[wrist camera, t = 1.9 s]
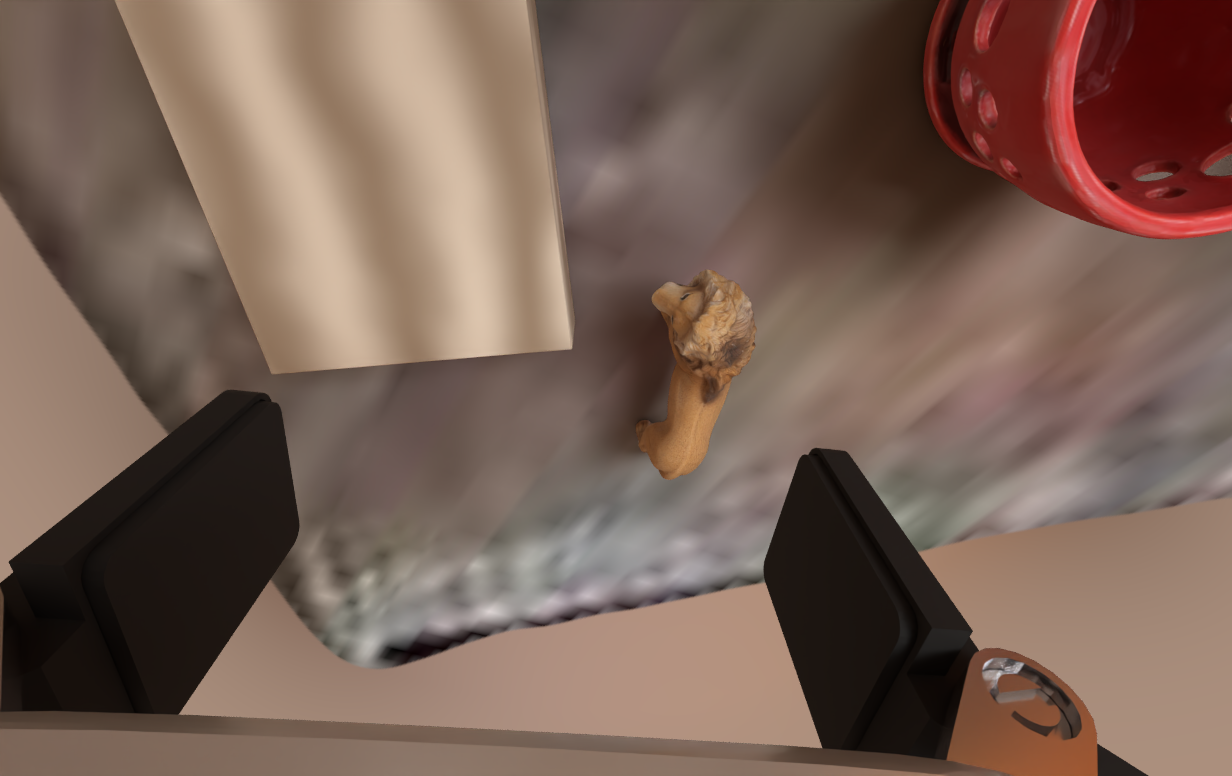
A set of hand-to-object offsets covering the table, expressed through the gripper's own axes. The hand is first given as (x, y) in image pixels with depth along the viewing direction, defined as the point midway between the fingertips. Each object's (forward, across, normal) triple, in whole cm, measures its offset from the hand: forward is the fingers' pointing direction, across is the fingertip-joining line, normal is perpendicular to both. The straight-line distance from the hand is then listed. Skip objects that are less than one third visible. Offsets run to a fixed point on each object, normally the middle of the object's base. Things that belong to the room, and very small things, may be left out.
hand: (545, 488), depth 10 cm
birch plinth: (+23, +10, -2) cm, 25 cm away
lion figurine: (+23, -6, +7) cm, 25 cm away
